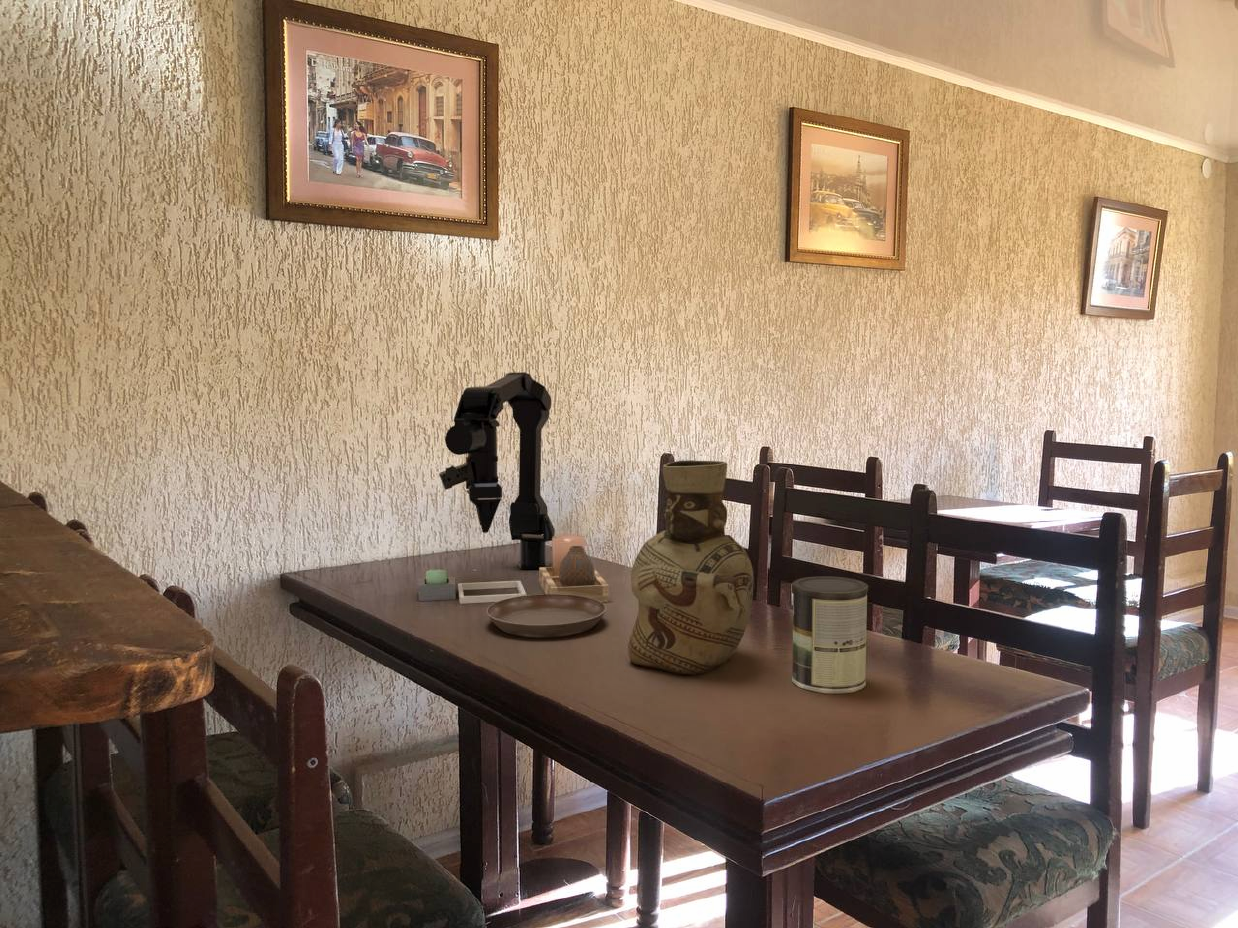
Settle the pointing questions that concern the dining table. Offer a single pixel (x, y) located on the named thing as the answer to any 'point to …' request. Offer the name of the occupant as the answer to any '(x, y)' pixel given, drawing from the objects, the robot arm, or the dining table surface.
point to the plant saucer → (546, 614)
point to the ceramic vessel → (691, 578)
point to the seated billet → (564, 548)
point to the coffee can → (829, 634)
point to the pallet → (554, 586)
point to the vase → (576, 568)
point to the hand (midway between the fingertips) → (483, 528)
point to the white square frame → (489, 585)
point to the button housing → (436, 590)
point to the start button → (436, 576)
